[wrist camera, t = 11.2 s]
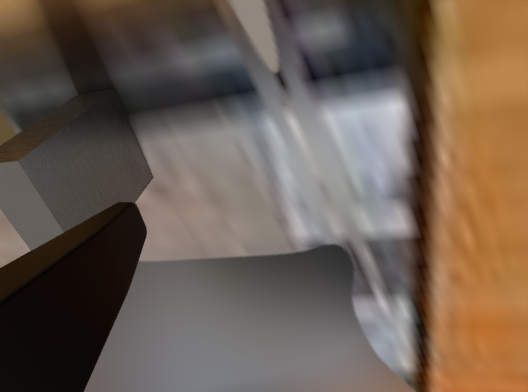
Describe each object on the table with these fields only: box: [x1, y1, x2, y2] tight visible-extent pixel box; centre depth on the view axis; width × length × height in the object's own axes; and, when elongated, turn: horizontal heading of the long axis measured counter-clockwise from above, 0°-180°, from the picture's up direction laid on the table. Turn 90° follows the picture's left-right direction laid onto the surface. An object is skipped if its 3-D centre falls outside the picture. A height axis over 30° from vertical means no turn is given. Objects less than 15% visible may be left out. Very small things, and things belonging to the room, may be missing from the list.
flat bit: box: [0, 89, 153, 251], centre depth 20 cm, size 2×6×8 cm, turn 12°
